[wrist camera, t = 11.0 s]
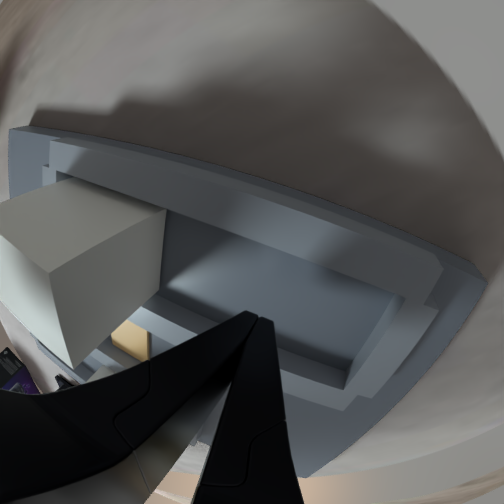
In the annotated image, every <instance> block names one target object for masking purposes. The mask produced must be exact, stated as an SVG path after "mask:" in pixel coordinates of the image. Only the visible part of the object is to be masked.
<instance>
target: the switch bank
mask: <svg viewBox="0 0 504 504" xmlns="http://www.w3.org/2000/svg"><path fill="white" fill-rule="evenodd" d="M8 171H9V192H10V199H12V198H14V197H17V196H19V195H22V194H25V193H27V192H30V191H33V190H36V189H38V188H41V187H44V186H47V185H50V184H53V183H56V182H59V181H62V180H65V179H69V178H72V177H77V178H80V179H83V180H86V181H89V182H92V183H95V184H98V185H101V186H103V187H106V188H109V189H112V190H115V191H118V192H121V193H123V194H126V195H129V196H132V197H135V198H138V199H140V200H143V201H146V202H149V203H152V204H155V205H157V206H160V207H163V208H166V209H167V212H166V220H165V229H164V238H163V248H162V259H161V271H160V284H159V290H158V291H157V292H156V293H155V294H154V295H153V296H152V297H151V298H149V299H148V300H147V301H146V302H145V303H144V304H143V305H142V306H141V307H140V308H138V309H137V310H136V311H135V312H134V313H133V314H132V315H131V316H130V317H129V318H128V319H127V320H125V321H124V322H123V323H122V324H121V325H120V326H119V327H118V328H117V329H116V330H115V331H114V332H113V333H111V334H110V335H109V336H108V337H107V338H106V339H105V340H104V341H103V342H102V343H101V344H100V345H99V346H98V347H97V348H96V349H95V350H93V351H92V352H91V353H90V354H89V355H88V356H87V357H86V358H85V359H84V360H83V361H82V362H81V363H80V364H79V365H78V366H77V367H76V368H75V369H74V370H73V369H72V368H71V367H70V366H68V365H67V364H66V363H65V362H64V361H62V360H61V359H60V358H59V357H58V356H56V355H55V354H54V353H53V352H52V351H51V350H49V349H48V348H47V347H46V346H45V345H44V344H43V343H42V342H41V341H39V340H38V339H37V338H36V337H35V336H34V335H33V334H32V333H31V332H30V334H31V336H32V337H33V338H34V339H35V341H36V344H37V346H38V348H39V349H40V350H41V351H42V352H43V353H44V354H45V355H46V356H47V357H49V358H50V359H51V360H52V361H53V362H54V363H55V364H57V365H58V366H59V367H60V368H61V369H62V370H64V371H65V372H66V373H67V374H68V375H70V376H71V377H72V378H73V379H75V380H76V381H77V382H79V383H80V384H84V383H86V382H87V381H88V379H89V378H90V377H91V376H92V375H93V374H94V373H95V372H96V371H97V370H98V369H99V368H100V367H101V366H102V365H103V364H104V365H105V366H107V367H108V368H110V369H111V370H113V371H114V372H116V373H118V372H121V371H123V370H125V369H128V368H130V367H132V366H135V365H137V364H139V363H141V362H143V361H145V360H149V359H150V358H152V357H154V356H156V355H158V354H160V353H162V352H164V351H166V350H168V349H170V348H172V347H174V346H177V345H179V344H181V343H183V342H185V341H187V340H189V339H191V338H193V337H194V336H196V335H198V334H200V333H202V332H204V331H206V330H208V329H210V328H212V327H214V326H216V325H218V324H220V323H222V322H224V321H225V320H227V319H229V318H231V317H233V316H235V315H237V314H239V313H241V312H242V311H245V310H247V311H250V312H252V313H255V314H257V315H258V316H259V317H260V316H263V317H265V318H268V319H270V320H273V321H274V325H275V333H276V341H277V348H278V356H279V364H280V372H281V380H282V388H283V396H284V404H285V413H286V420H285V421H286V422H287V428H288V436H289V442H290V449H291V455H292V459H293V463H294V467H295V472H296V476H299V477H303V478H307V477H309V476H310V475H312V474H313V473H315V472H316V471H317V470H319V469H320V468H322V467H323V466H325V465H326V464H327V463H329V462H330V461H331V460H333V459H334V458H335V457H337V456H338V455H339V454H340V453H342V452H343V451H344V450H346V449H347V448H348V447H349V446H351V445H352V444H353V443H354V442H355V441H357V440H358V439H359V438H360V437H361V436H362V435H364V434H365V433H366V432H367V431H368V430H369V429H370V428H372V427H373V426H374V425H375V424H376V423H377V422H378V421H379V420H380V419H381V418H382V417H384V416H385V415H386V414H387V413H388V412H389V411H390V410H391V409H392V408H393V407H394V406H395V405H396V404H397V403H398V402H399V401H400V400H401V399H402V398H403V397H404V396H405V395H406V393H407V392H408V391H409V390H410V389H411V388H412V387H413V386H414V385H415V384H416V383H417V381H418V380H419V379H420V378H421V377H422V376H423V375H424V373H425V372H426V371H427V370H428V369H429V368H430V366H431V365H432V364H433V363H434V362H435V360H436V359H437V358H438V357H439V355H440V354H441V353H442V352H443V350H444V349H445V348H446V346H447V345H448V344H449V342H450V341H451V340H452V338H453V337H454V336H455V334H456V333H457V331H458V330H459V329H460V327H461V326H462V324H463V323H464V321H465V320H466V318H467V317H468V315H469V314H470V312H471V311H472V309H473V308H474V306H475V305H476V303H477V301H478V300H479V298H480V296H481V295H482V293H483V291H484V290H485V288H486V286H487V285H488V282H487V281H486V280H485V278H484V277H483V276H482V274H481V273H480V272H479V270H478V269H477V268H476V266H475V265H474V264H473V263H471V262H469V261H467V260H465V259H463V258H461V257H459V256H457V255H455V254H453V253H451V252H448V251H446V250H444V249H442V248H440V247H438V246H436V245H434V244H431V243H429V242H427V241H425V240H423V239H420V238H418V237H416V236H414V235H411V234H409V233H407V232H404V231H402V230H400V229H397V228H395V227H393V226H390V225H388V224H386V223H383V222H381V221H378V220H376V219H373V218H371V217H368V216H366V215H363V214H361V213H358V212H356V211H353V210H350V209H348V208H345V207H343V206H340V205H337V204H335V203H332V202H329V201H326V200H324V199H321V198H318V197H315V196H313V195H310V194H307V193H304V192H301V191H298V190H295V189H292V188H289V187H286V186H284V185H280V184H277V183H274V182H271V181H268V180H265V179H262V178H259V177H256V176H252V175H249V174H246V173H243V172H239V171H236V170H232V169H229V168H226V167H222V166H219V165H215V164H212V163H208V162H204V161H201V160H197V159H193V158H189V157H186V156H182V155H178V154H174V153H170V152H166V151H162V150H158V149H153V148H149V147H145V146H140V145H136V144H131V143H127V142H122V141H117V140H112V139H107V138H102V137H97V136H92V135H86V134H81V133H75V132H69V131H63V130H56V129H50V128H43V127H35V126H23V127H17V128H12V129H9V145H8ZM230 385H231V384H230ZM230 385H229V387H228V389H227V390H226V392H225V393H224V395H223V396H222V398H221V399H220V401H219V402H218V404H217V405H216V407H215V408H214V409H213V411H212V412H211V414H210V415H209V417H208V418H207V420H206V421H205V422H204V424H203V425H202V427H201V428H200V429H199V431H198V432H197V434H196V435H195V437H194V438H193V439H192V441H191V442H190V443H189V444H190V445H192V446H195V444H196V443H197V441H200V442H203V443H205V444H207V445H209V446H211V443H212V440H213V437H214V434H215V430H216V427H217V424H218V421H219V418H220V415H221V412H222V409H223V406H224V403H225V400H226V397H227V394H228V391H229V388H230Z"/></svg>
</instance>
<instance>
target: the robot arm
mask: <svg viewBox="0 0 504 504" xmlns="http://www.w3.org/2000/svg"><path fill="white" fill-rule="evenodd" d="M55 379H56V381H57V383H58V385H59V387H60V388H59V389H58V390H57V391H55V392H51V393H45V394H24V393H19V392H14V391H9V390H5V389H0V504H144V503H145V501H146V500H147V499H148V498H149V496H150V494H152V492H153V491H154V490H155V489H156V487H157V486H158V485H159V484H160V482H161V481H162V480H163V478H164V477H165V476H166V474H167V473H168V472H169V470H170V469H171V468H172V467H173V465H174V464H175V463H176V461H177V460H178V458H179V457H180V456H181V454H182V453H183V452H184V450H185V449H186V448H187V446H188V445H189V443H190V442H191V441H192V439H193V438H194V437H195V435H196V434H197V432H198V431H199V429H200V428H201V427H202V425H203V424H204V422H205V421H206V420H207V418H208V417H209V415H210V414H211V412H212V411H213V409H214V408H215V407H216V405H217V404H218V402H219V401H220V399H221V398H222V396H223V395H224V393H225V392H226V390H227V389H228V387H229V385H230V384H231V385H230V388H229V391H228V394H227V397H226V400H225V403H224V406H223V409H222V412H221V415H220V418H219V421H218V424H217V427H216V430H215V434H214V437H213V440H212V443H211V446H210V449H209V452H208V454H207V457H206V460H205V463H204V466H203V469H202V472H201V475H200V478H199V481H198V484H197V487H196V490H195V493H194V495H193V498H192V501H191V504H304V501H303V497H302V494H301V490H300V487H299V483H298V479H297V476H296V472H295V467H294V463H293V459H292V455H291V449H290V442H289V436H288V428H287V422H286V421H285V420H286V413H285V404H284V396H283V388H282V380H281V372H280V364H279V356H278V348H277V341H276V333H275V325H274V321H273V320H270V319H268V318H265V317H263V316H260V317H259V316H258V315H257V314H255V313H252V312H250V311H247V310H245V311H242V312H241V313H239V314H237V315H235V316H233V317H231V318H229V319H227V320H225V321H224V322H222V323H220V324H218V325H216V326H214V327H212V328H210V329H208V330H206V331H204V332H202V333H200V334H198V335H196V336H194V337H193V338H191V339H189V340H187V341H185V342H183V343H181V344H179V345H177V346H174V347H172V348H170V349H168V350H166V351H164V352H162V353H160V354H158V355H156V356H154V357H152V358H150V359H149V360H145V361H143V362H141V363H139V364H137V365H135V366H132V367H130V368H128V369H125V370H123V371H121V372H118V373H115V374H113V375H110V376H107V377H104V378H101V379H98V380H94V381H91V382H88V383H84V384H81V385H77V386H74V387H72V386H71V385H69V384H68V383H67V382H66V381H64V380H63V379H62V378H61V377H60V376H58V375H57V376H56V377H55Z"/></svg>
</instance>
